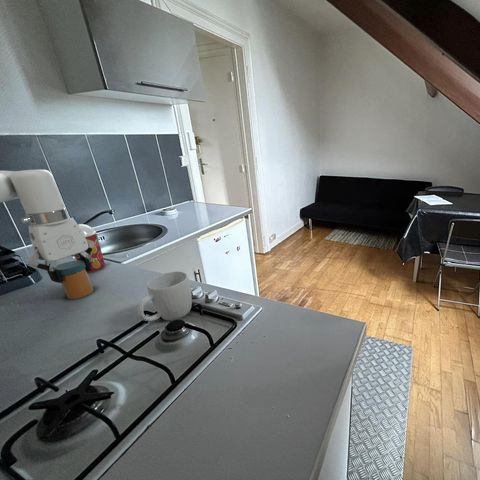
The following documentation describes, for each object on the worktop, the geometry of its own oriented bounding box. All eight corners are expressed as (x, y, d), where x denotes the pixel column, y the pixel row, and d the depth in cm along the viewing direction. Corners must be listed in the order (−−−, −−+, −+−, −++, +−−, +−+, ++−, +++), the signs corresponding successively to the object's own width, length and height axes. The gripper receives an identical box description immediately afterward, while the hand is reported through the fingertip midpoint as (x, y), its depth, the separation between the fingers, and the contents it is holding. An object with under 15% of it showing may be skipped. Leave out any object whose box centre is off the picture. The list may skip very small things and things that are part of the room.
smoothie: (106, 262, 100) (88, 212, 93) (110, 269, 95) (91, 216, 88) (78, 270, 95) (57, 217, 88) (80, 277, 89) (57, 221, 82)
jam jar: (63, 298, 77) (50, 269, 74) (85, 288, 82) (74, 261, 79) (76, 301, 75) (64, 272, 72) (98, 291, 80) (88, 263, 77)
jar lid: (50, 274, 74) (47, 268, 73) (76, 264, 80) (74, 259, 79) (65, 277, 72) (62, 271, 71) (91, 266, 78) (89, 261, 77)
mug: (182, 300, 74) (173, 268, 70) (202, 308, 70) (195, 275, 66) (134, 326, 64) (121, 291, 60) (155, 338, 59) (143, 301, 56)
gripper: (13, 227, 61) (44, 293, 68) (93, 210, 77) (112, 264, 83) (-5, 225, 64) (27, 289, 70) (76, 208, 79) (96, 262, 85)
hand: (73, 275), depth 76 cm, fingers closed on jar lid, 6 cm apart
